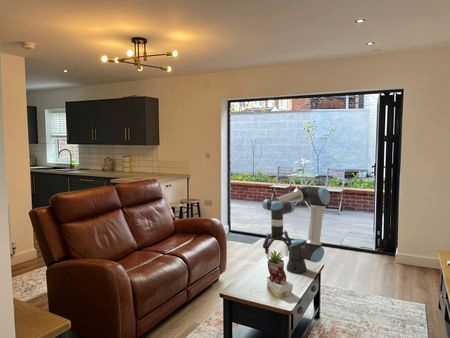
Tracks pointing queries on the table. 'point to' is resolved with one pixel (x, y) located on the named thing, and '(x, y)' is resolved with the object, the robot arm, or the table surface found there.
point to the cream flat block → (280, 286)
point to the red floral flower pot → (277, 274)
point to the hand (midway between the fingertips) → (277, 257)
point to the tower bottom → (279, 295)
